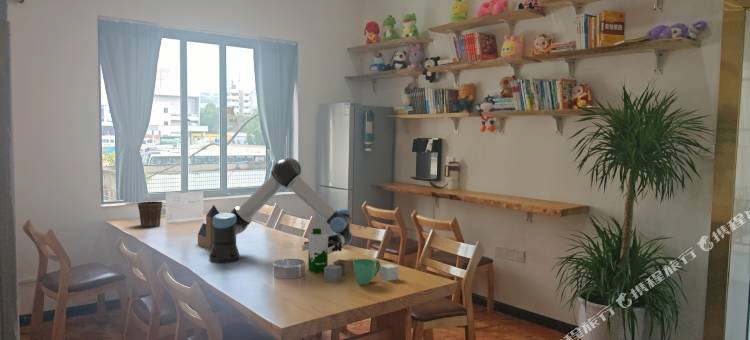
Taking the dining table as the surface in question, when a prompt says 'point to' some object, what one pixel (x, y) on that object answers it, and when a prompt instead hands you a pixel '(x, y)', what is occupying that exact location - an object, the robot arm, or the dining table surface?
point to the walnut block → (343, 266)
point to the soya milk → (317, 251)
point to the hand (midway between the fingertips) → (315, 249)
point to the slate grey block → (332, 273)
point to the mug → (365, 270)
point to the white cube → (389, 272)
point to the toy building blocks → (207, 230)
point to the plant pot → (150, 213)
